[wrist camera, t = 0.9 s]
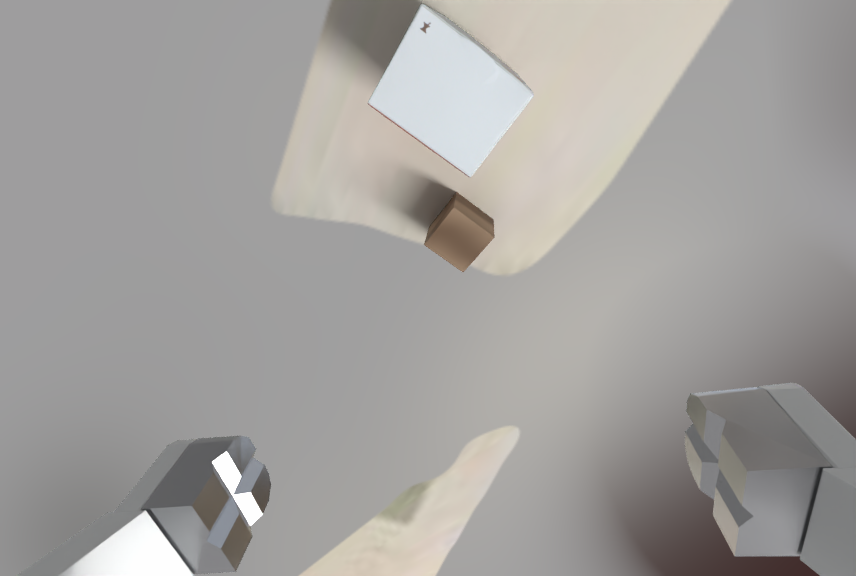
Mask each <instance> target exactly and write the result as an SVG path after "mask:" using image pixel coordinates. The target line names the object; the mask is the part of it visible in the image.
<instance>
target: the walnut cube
mask: <svg viewBox="0 0 856 576" xmlns="http://www.w3.org/2000/svg"><path fill="white" fill-rule="evenodd" d="M493 238H494V221H493V219H492V218H491V217H489V216H488V215H487V214H485V213H484V212H483V211H481V210H480V209H479V208H477V207H476V206H475V205H473V204H472V203H471V202H469V201H468V200H467V199H465V198H464V197H463V196H461V195H460V194H459V193H457V192H456V194H455V195H454V196H453V197H452V199H451V200H450V201H449V203H448V204H447V205H446V206H445V208H444V209H443V210H442V211H441V213H440V214H439V215H438V217H437V218H436V219H435V220H434V222H433V223H432V224H431V225H430V227H429V230H428V233H427V237H426V240H425V243H424V245H425V246H426V247H428V248H429V249H431V250H432V251H433V252H435V253H436V254H438V255H439V256H441V257H442V258H443V259H445V260H446V261H448V262H449V263H451V264H452V265H453V266H455V267H456V268H458V269H459V270H460V271H462V272H464V271H465V270H466V269H467V268H468V266H469V265H470V264H471V263H472V262H473V261H474V260H475V259H476V257H477V256H478V255H479V254H480V253H481V252H482V251H483V250H484V248H485V247H486V246H487V245H488V244H489V243H490V242H491V241H492V239H493Z"/></svg>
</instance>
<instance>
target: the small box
mask: <svg viewBox="0 0 856 576" xmlns="http://www.w3.org/2000/svg"><path fill="white" fill-rule="evenodd" d="M533 96H534V94H533V92H532V90H531V89H530V88H529V87H528V86H527V85H526V83H525V82H524V81H523V80H522V79H521V78H520V77H519V75H518V74H517V73H516V72H514V71H513V70H512V69H511V68H510V67H509V66H507V65H506V64H505V63H504V62H502V61H501V60H500V59H499V58H498V57H496V56H495V55H494V54H493V53H491V52H490V51H489V50H488V49H486V48H485V47H484V46H483V45H481V44H480V43H479V42H478V41H476V40H475V39H474V38H473V37H471V36H470V35H469V34H468V33H466V32H465V31H464V30H462V29H461V28H460V27H459V26H457V25H456V24H455V23H453V22H452V21H451V20H449V19H448V18H447V17H445V16H444V15H442V14H440V13H438V12H436V11H434V10H433V9H431V8H430V7H428V6H426V5H424V4H421V5H420V6H419V8H418V10H417V12H416V14H415V16H414V18H413V20H412V22H411V24H410V26H409V27H408V29H407V31H406V33H405V35H404V37H403V39H402V41H401V42H400V44H399V46H398V48H397V50H396V52H395V54H394V55H393V57H392V59H391V61H390V63H389V65H388V67H387V68H386V70H385V72H384V74H383V76H382V78H381V79H380V81H379V83H378V85H377V87H376V89H375V90H374V92H373V94H372V96H371V97H370V99H369V101H368V105H370V106H371V107H372V108H374V109H375V110H376V111H378V112H379V113H381V114H382V115H383V116H385V117H386V118H387V119H389V120H390V121H392V122H393V123H394V124H396V125H397V126H398V127H400V128H401V129H403V130H404V131H405V132H407V133H408V134H410V135H411V136H412V137H414V138H415V139H417V140H418V141H419V142H421V143H422V144H423V145H425V146H426V147H428V148H429V149H430V150H432V151H433V152H434V153H436V154H437V155H439V156H440V157H442V158H443V159H444V160H446V161H447V162H449V163H450V164H451V165H453V166H454V167H455V168H457V169H458V170H460V171H461V172H462V173H464V174H465V175H467V176H468V177H472V176H473V174H474V173H475V172H476V170H477V169H478V168H479V166H480V165H481V164H482V162H483V161H484V160H485V159H486V157H487V156H488V155H489V153H490V152H491V151H492V149H493V148H494V147H495V146H496V144H497V143H498V142H499V140H500V139H501V138H502V137H503V135H504V134H505V133H506V131H507V130H508V129H509V127H510V126H511V125H512V124H513V122H514V121H515V120H516V118H517V117H518V116H519V115H520V113H521V112H522V111H523V109H524V108H525V107H526V105H527V104H528V103H529V102H530V100H531V99H532V98H533Z"/></svg>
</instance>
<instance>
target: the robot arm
mask: <svg viewBox="0 0 856 576" xmlns="http://www.w3.org/2000/svg"><path fill="white" fill-rule="evenodd" d="M686 412H687V414H688V415H689V417H690V419H691V421H692V422H693V424H692V425H691V427H689V428H688V429H687V431H685V449H686V454H687V460H688V464H689V466H690V469H691V472H692V474H693V477H694V479H695V481H696V483H697V485H698V487H699V489H700V490H701V491H702V492H704V493H705V494H707V495H708V496H709V497H711V498H712V499H714V509H713V516H714V518H715V520H716V522H717V524H718V526H719V527H720V529H721V531H722V533H723V535H724V537H725V539H726V541H727V543H728V544H729V546H730V548H731V550H732V552H733V554H734V556H800V560H801V561H803V562H804V563H805V564H806V565H808V566H809V567H810V568H811V569H813V570H814V571H815V572H816V573H818V574H819V575H820V576H856V439H855V438H854V437H853V436H852V435H851V434H849V432H848V431H847V430H846V429H845V428H844V427H843V426H842V425H841V424H840V423H838V421H836V420H835V419H834V418H833V417H832V416H831V415H830V414H829V413H828V412H827V411H826V410H825V409H824V408H823V407H822V406H821V405H820V404H819V403H818V402H817V401H816V400H815V399H814V398H813V397H812V396H811V395H810V394H809V393H808V392H807V391H806V390H805V389H804V388H803V387H802V386H800V385H798V384H795V383H787V384H777V385H768V386H758V387H757V388H755V387H751V388H741V389H732V390H722V391H712V392H702V393H693V394H690V395H689V397H688V400H687V409H686ZM255 451H256V448H255V446H254V445H253V443H252V442H251V440H250V439H249V437H245V436H229V437H214V438H199V439H194V440H193V439H192V440H177V441H175V442H173V443H171V444H169V445H168V446H167V447H166V448H165V449H164V451H163V452H162V453H161V454H160V456H159V457H158V458H157V459H156V460H155V462H154V463H153V464H152V466H151V467H150V468H149V469H148V470H147V472H146V473H145V474H144V475H143V477H142V478H141V479H140V481H139V482H138V483H137V484H136V485H135V487H134V488H133V489H132V490H131V492H130V493H129V494H128V495H127V496H126V498H125V499H124V500H123V501H122V503H121V504H120V505H119V506H118V508H117V509H116V510H115V511H114V512H110V513H106V514H104V515H103V516H101V517H100V518H99V519H97V520H96V521H94V522H93V523H91V524H90V525H88V526H87V527H85V528H84V529H83V530H81V531H80V532H78V533H77V534H76V535H74V536H73V537H71V538H70V539H68V540H67V541H65V542H64V543H62V544H61V545H60V546H58V547H57V548H55V549H54V550H52V551H51V552H50V553H48V554H47V555H45V556H44V557H42V558H41V559H39V560H38V561H37V562H35V563H34V564H32V565H31V566H29V567H28V568H26V569H25V570H24V571H22V572H21V573H19V574H18V575H17V576H194V574H205V573H221V572H235V571H236V570H237V568H238V566H239V564H240V562H241V560H242V558H243V555H244V553H245V551H246V549H247V547H248V545H249V543H250V541H251V539H252V531H251V525H252V524H253V523H254V522H255V521H256V520H257V519H258V518H259V517H261V516H262V515H263V513H264V510H265V508H266V506H267V503H268V501H269V496H270V489H271V482H270V477H269V473H268V471H267V469H266V467H265V465H264V464H262V463H261V462H259V461H258V460H256V459H255V458H253V457H254V454H255Z"/></svg>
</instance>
